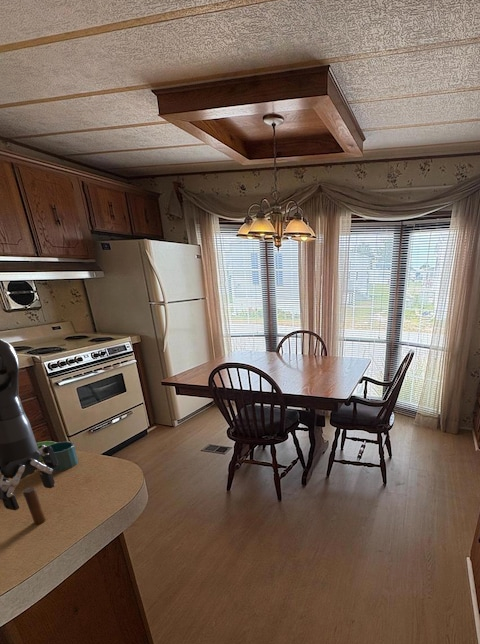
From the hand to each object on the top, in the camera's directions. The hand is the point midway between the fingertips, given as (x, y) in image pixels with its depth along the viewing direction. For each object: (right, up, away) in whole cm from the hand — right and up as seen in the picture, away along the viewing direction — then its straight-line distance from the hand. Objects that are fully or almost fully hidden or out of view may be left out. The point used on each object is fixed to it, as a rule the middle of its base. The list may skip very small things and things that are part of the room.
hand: (32, 497), depth 79 cm
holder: (-11, +3, +24) cm, 26 cm away
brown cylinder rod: (0, -6, +3) cm, 7 cm away
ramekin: (-21, +5, +28) cm, 36 cm away
